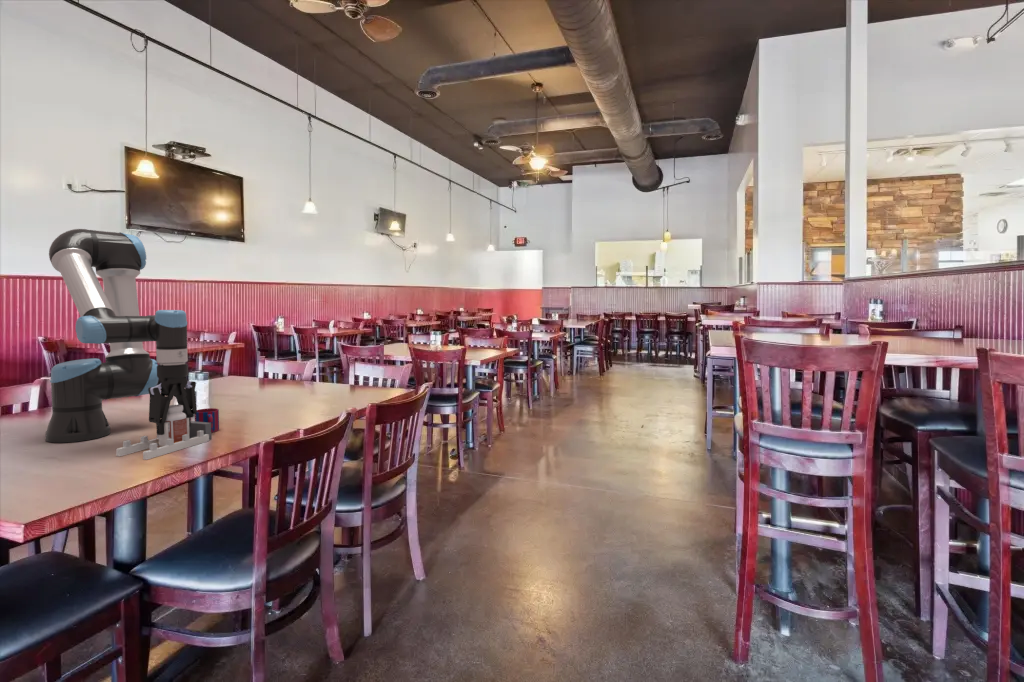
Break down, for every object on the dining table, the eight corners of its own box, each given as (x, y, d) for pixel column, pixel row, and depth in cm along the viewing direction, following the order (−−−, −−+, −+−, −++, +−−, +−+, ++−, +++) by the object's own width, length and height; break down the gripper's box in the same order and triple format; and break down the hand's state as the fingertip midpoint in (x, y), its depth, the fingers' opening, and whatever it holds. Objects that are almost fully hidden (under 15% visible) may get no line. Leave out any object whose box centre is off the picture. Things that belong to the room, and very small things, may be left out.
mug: (218, 427, 172) (217, 407, 171) (220, 434, 164) (220, 413, 163) (194, 430, 168) (194, 409, 168) (196, 436, 160) (195, 415, 159)
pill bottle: (188, 440, 154) (187, 403, 153) (185, 445, 149) (184, 407, 148) (163, 442, 151) (162, 404, 151) (160, 447, 146) (159, 408, 145)
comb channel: (116, 456, 139) (115, 437, 138) (187, 436, 160) (186, 420, 160) (146, 459, 136) (146, 441, 136) (214, 439, 157) (214, 423, 157)
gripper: (151, 367, 138) (154, 452, 140) (210, 360, 157) (212, 435, 158) (130, 366, 140) (132, 449, 142) (190, 359, 159) (192, 433, 160)
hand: (174, 442), depth 150 cm, fingers closed on pill bottle, 6 cm apart
